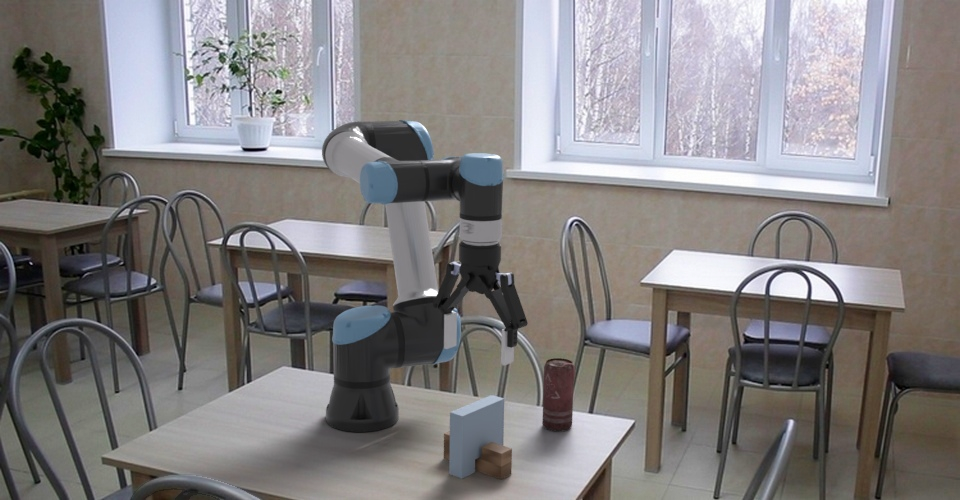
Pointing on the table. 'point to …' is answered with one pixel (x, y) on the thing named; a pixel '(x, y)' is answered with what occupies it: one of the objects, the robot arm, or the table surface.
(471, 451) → the pale blue upright slab
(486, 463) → the walnut u-shaped block
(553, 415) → the can
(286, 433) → the table surface
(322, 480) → the table surface
